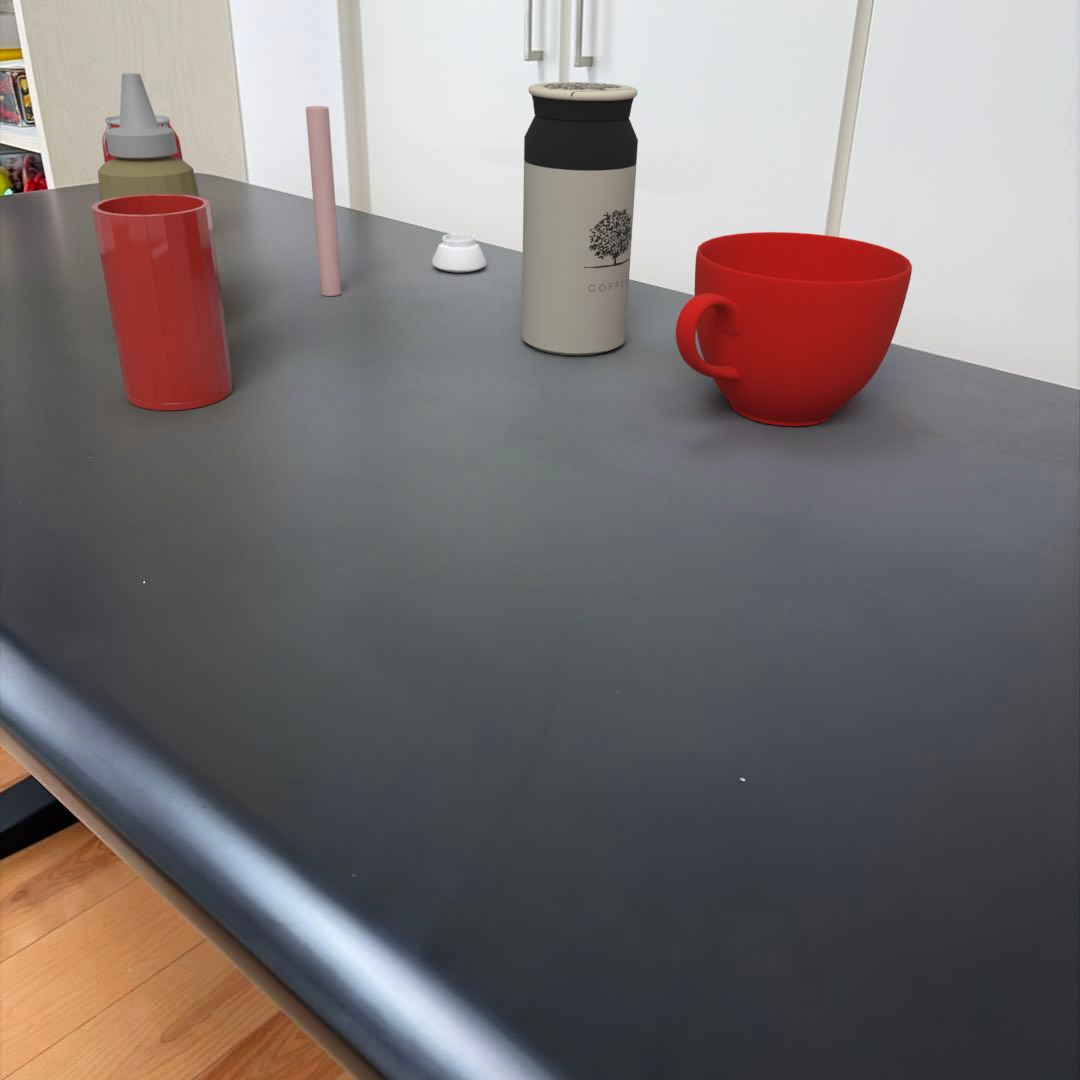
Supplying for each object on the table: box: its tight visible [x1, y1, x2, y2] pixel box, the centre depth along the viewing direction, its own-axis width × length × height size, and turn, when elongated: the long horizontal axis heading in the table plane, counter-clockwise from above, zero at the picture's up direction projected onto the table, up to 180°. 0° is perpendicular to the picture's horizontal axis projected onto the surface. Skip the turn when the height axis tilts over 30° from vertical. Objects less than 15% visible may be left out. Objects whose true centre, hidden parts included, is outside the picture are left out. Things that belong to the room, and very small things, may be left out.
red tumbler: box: [91, 194, 234, 412], centre depth 65 cm, size 7×7×12 cm
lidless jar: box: [431, 232, 487, 274], centre depth 97 cm, size 5×3×5 cm
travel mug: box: [521, 81, 639, 357], centre depth 75 cm, size 8×8×18 cm
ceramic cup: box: [675, 231, 913, 427], centre depth 64 cm, size 13×17×10 cm
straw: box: [305, 105, 343, 297], centre depth 86 cm, size 2×2×15 cm
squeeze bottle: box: [97, 72, 200, 202], centre depth 76 cm, size 8×8×18 cm
